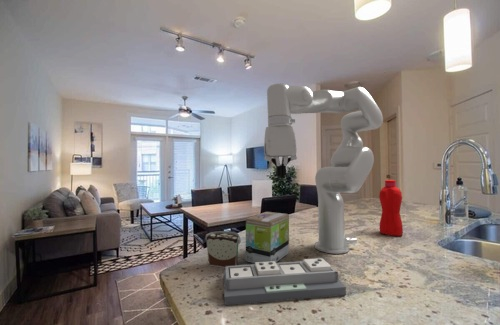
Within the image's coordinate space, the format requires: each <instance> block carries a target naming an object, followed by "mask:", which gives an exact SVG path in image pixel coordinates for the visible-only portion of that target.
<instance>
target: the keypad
mask: <svg viewBox="0 0 500 325" xmlns="http://www.w3.org/2000/svg"><path fill="white" fill-rule="evenodd" d="M327 263H328V262H327ZM276 264H277V266H278V267H279V269H280V274H279V275H264V276H257V273H256V270H255V264H254V263H250V264H239V265H235V266H225V270H223V273H222V274H223V277H222V278H223V295H224V296H223V297H224V299H223V300H224V306H232V305H245V304H256V303H267V302H268V303H270V302H280V301H282V302H283V301H292V300H304V299H317V298H318V299H319V298H327V297H339V296H346V295H347V287H346V285H345V284H343V283H342V282H341V281H340V280H339V271H337V269H335V268H334V267H333V266H332V265H331V264H330V263H328V264H329V265H330V266H331V271H322V272H310V271H309V270H308V269H307V267H306V266H305V265H304V260H302V261H301V260H300V261H284V262H276ZM291 264H299V265H300V266H301V267H302V268H303V270H304V271H305V272H306V273H293V274H284V272H283V271H282V269H281V268H280V265H291ZM245 267H250V268H251V271H252V275H253V276H250V277H236V278H230V268H245Z"/></svg>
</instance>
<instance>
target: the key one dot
mask: <svg viewBox="0 0 500 325" xmlns="http://www.w3.org/2000/svg"><path fill="white" fill-rule="evenodd" d="M280 268H281V269H282V271H283V272H284V274H293V273H306V272H305V271H304V270H303V268H302V267H301V266H300V265H299V264H291V265H280Z"/></svg>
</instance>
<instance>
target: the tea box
mask: <svg viewBox="0 0 500 325" xmlns="http://www.w3.org/2000/svg"><path fill="white" fill-rule="evenodd" d="M244 253H245V258H244V260H245V262H248V263H250V264H255V262H270V261H275V262H276V263H278V262H279V261H280V260H281V259H283V258H284V257H286V256H287V255H289V253H290V214H288V213H281V212H272V211H264V212H262V213H259V214H256V215H252V216H250V217H247V218H245V252H244Z"/></svg>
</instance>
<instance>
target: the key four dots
mask: <svg viewBox="0 0 500 325" xmlns="http://www.w3.org/2000/svg"><path fill="white" fill-rule="evenodd" d="M276 263H277V262H275V261H270V262H255V270H256V273H257V276H264V275H279V274H280V269H279V267H278V266H277V264H276Z"/></svg>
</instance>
